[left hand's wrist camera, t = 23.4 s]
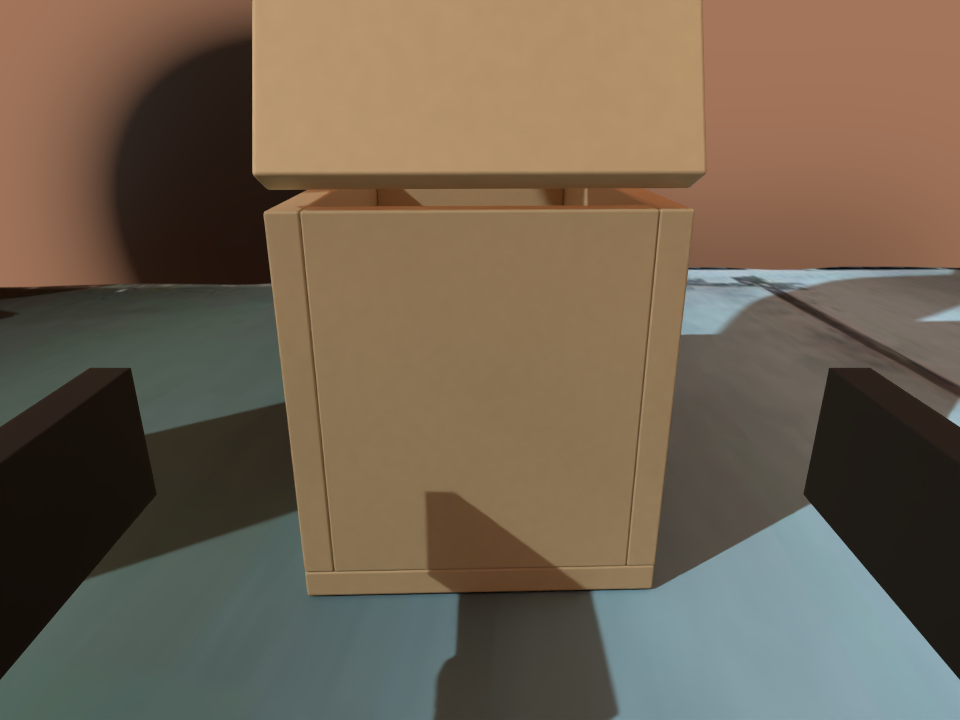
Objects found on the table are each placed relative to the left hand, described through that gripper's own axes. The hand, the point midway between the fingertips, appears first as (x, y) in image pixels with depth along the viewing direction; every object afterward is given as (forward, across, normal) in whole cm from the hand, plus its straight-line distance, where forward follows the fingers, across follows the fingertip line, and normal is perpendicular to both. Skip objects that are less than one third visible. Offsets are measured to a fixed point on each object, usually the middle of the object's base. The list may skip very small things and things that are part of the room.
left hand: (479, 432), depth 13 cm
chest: (+11, 0, -7) cm, 13 cm away
